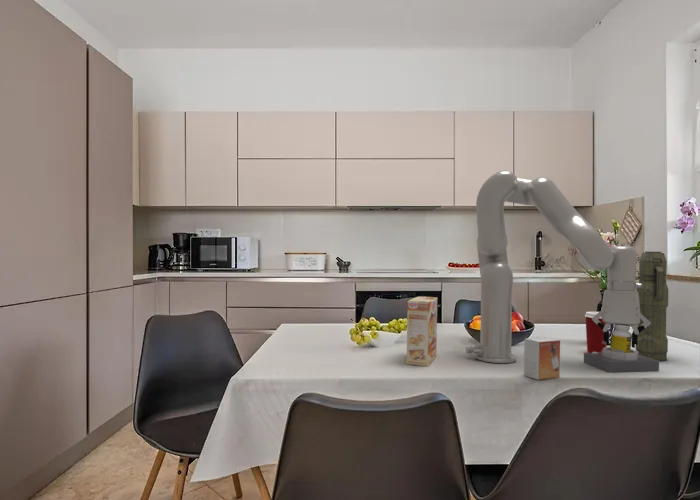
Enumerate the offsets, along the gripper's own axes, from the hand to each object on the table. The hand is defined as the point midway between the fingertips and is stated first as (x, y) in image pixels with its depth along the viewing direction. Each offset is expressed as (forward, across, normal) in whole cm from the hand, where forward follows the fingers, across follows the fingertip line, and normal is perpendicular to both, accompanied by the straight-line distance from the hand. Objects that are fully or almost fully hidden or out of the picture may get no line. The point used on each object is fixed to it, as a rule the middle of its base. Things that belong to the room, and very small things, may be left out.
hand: (620, 345), depth 148 cm
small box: (+7, +20, +24) cm, 32 cm away
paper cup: (+7, +6, -16) cm, 19 cm away
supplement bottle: (+4, 0, 0) cm, 4 cm away
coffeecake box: (+7, +56, +22) cm, 60 cm away
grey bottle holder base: (+7, 0, 0) cm, 7 cm away
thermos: (+7, -10, -18) cm, 21 cm away
